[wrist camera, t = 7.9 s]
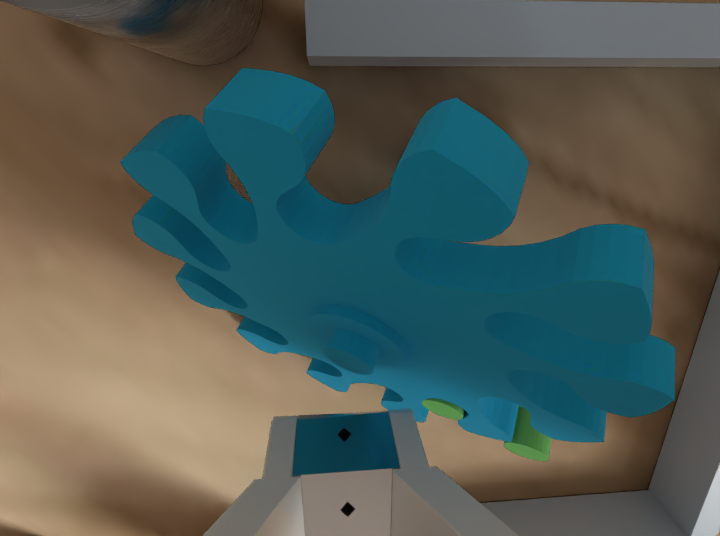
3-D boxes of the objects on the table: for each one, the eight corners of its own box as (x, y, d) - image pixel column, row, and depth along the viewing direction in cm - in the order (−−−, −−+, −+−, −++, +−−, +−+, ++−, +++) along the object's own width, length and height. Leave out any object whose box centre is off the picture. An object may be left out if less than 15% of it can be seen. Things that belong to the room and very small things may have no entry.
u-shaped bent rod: (834, 24, 11) (942, 6, 9) (665, 506, 17) (708, 556, 15) (308, 18, 10) (304, -3, 8) (329, 533, 16) (330, 590, 14)
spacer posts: (256, -90, 9) (145, -420, 3) (305, 571, 16) (297, 811, 11) (-320, -108, 8) (-1751, -591, 3) (9, 597, 16) (-166, 871, 10)
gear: (62, 251, 10) (261, -163, 2) (207, 98, 12) (514, -310, 5) (379, 448, 14) (791, 549, 7) (431, 305, 17) (760, 264, 10)
